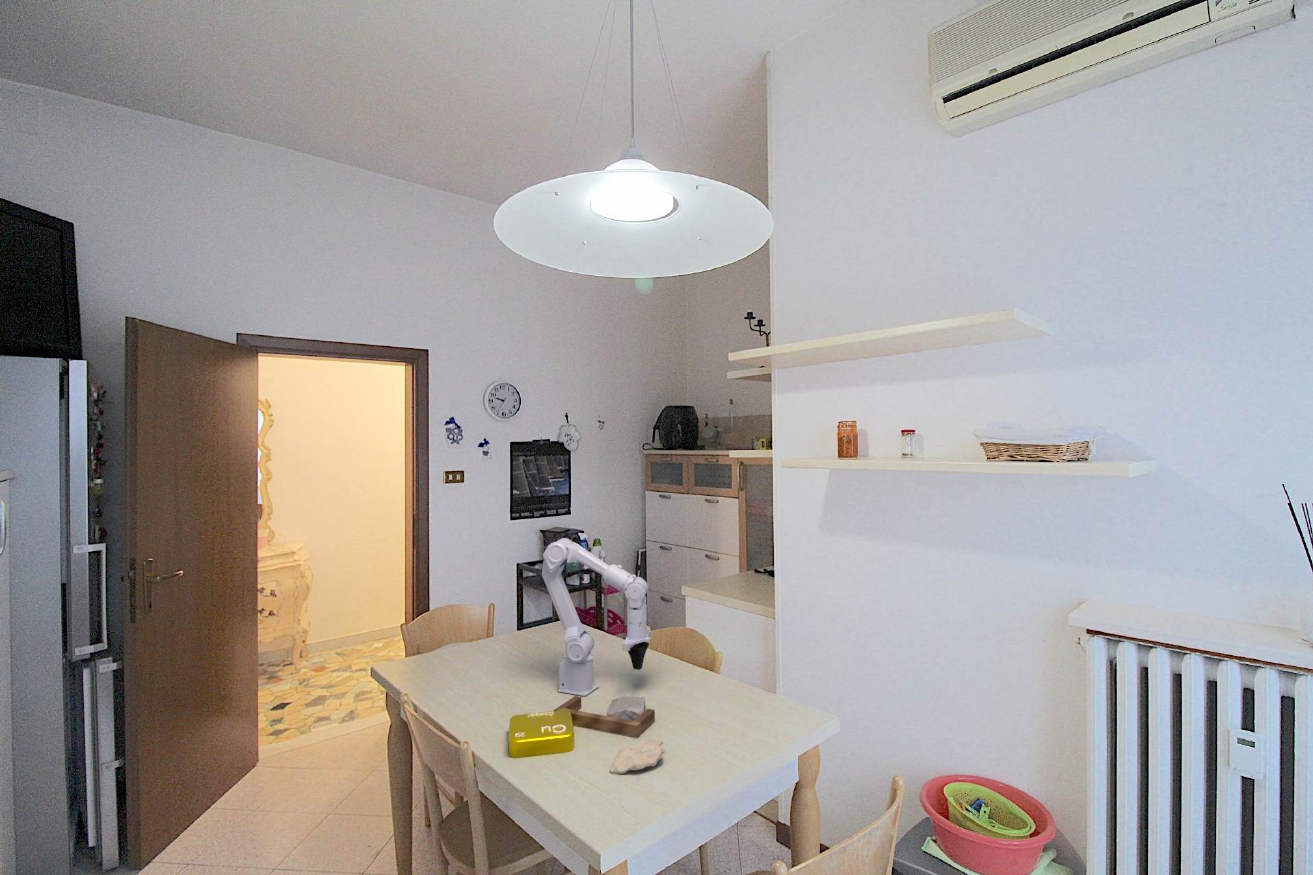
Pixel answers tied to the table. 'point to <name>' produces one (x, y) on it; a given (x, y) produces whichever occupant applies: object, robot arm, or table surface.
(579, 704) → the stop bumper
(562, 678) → the robot arm
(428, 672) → the table surface
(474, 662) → the table surface
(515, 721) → the element tile
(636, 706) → the stone block
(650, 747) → the decorative stone
